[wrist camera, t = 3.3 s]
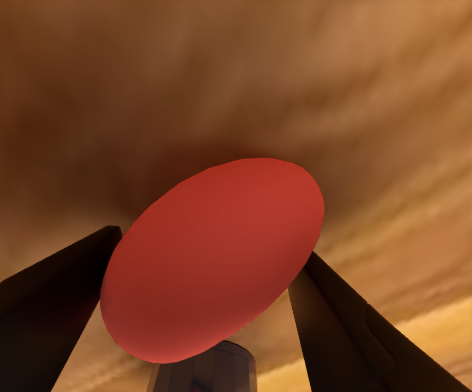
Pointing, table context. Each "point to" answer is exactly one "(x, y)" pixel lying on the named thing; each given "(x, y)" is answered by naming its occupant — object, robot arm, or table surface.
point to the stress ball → (210, 257)
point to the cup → (208, 372)
